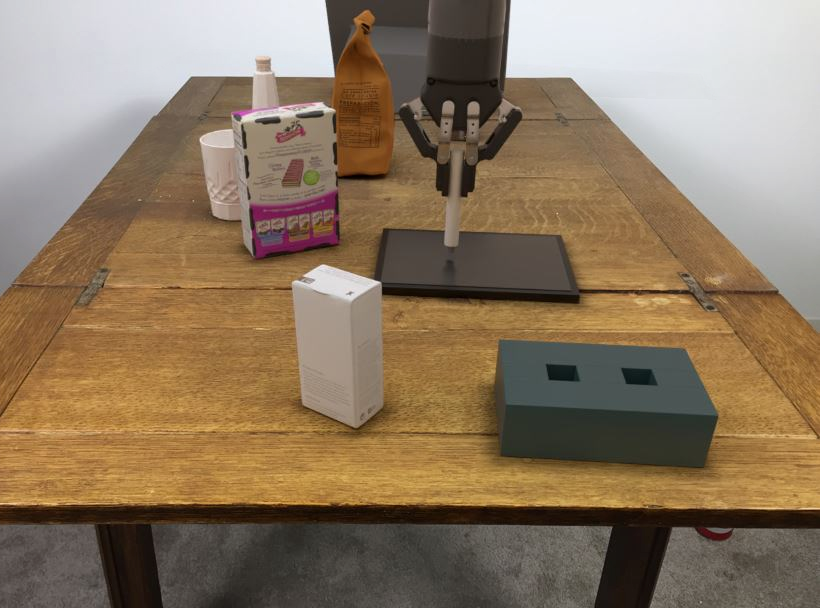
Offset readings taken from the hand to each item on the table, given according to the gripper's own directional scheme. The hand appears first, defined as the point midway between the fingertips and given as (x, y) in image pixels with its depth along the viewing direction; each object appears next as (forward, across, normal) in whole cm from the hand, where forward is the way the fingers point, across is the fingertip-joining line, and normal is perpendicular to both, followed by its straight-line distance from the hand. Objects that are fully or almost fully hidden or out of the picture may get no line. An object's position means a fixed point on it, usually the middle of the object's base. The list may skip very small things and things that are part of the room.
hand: (454, 194), depth 87 cm
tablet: (+9, +3, 0) cm, 9 cm away
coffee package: (+9, -13, +34) cm, 38 cm away
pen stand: (+9, +12, -30) cm, 33 cm away
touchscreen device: (+9, -7, +75) cm, 76 cm away
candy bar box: (+9, -19, +4) cm, 22 cm away
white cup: (+9, -28, +14) cm, 33 cm away
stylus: (+7, 0, 0) cm, 7 cm away
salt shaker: (+9, -33, +59) cm, 68 cm away
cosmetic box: (+9, -9, -29) cm, 32 cm away
